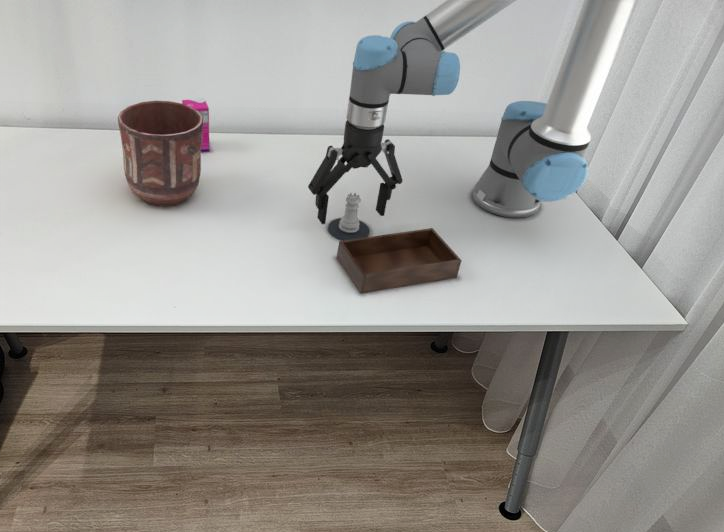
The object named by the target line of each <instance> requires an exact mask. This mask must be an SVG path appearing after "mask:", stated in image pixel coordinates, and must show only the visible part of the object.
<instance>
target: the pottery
mask: <svg viewBox="0 0 724 532" xmlns="http://www.w3.org/2000/svg"><path fill="white" fill-rule="evenodd" d="M117 125H118V128H119V136H120V140H121V148H122V161H123V170H124V171H123V172H124V176H125V179H126V182H127V186H128V187H129V188H130V190H131V191H132V193H133V194H134V195H136V196H137V197H138V198H140V199H141V200H142V201H144V202H145V203H147V204H149V205H153V206H159V207H162V206H163V207H169V206H176V205H180V204H182V203H183V202H185V201H186V200H188V199H189V198H190V197H191V196H192V195H193V194H194V193H195V192H196V190H197V188H198V186H199V183H200V178H201V171H202V159H201V158H202V154H201V153H202V152H201V136H202V128H203V117H202V116H201V114H200V112H198V111H197V110H195V109H194V108H192V107H190V106H187V105H184V104H182V102H181V103H180V102H177V101H176V102H175V101H170V100H149V101H141V102H138V103H135V104H131V105H129V106H127V107H125V108H124V109H122V110H121V111H119V114H118V116H117Z"/></svg>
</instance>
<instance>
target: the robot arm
mask: <svg viewBox="0 0 724 532" xmlns="http://www.w3.org/2000/svg"><path fill="white" fill-rule="evenodd" d="M516 1H517V0H445V1H444V2H442V3H441V4H440V5H438V6H437V7H436V8H434V9H432V10H431V11H429V13H427V14H425V15H424V16H423V17H421V18H420V19H418V20H417V21H405V22H401V23H400V24H398V25H397V26H396V27H395V28H394V29H393V31H392V32H391V34H390V37H388V36H382V35H378V34H377V35H366V36H364V37H362V38H360V39H359V40H358V42H357V44H356V47H355V48H356V49H355V53H354V59H353V61H352V71H351V82H350V88H349V96H348V104H347V110H346V117H345V118H346V121H345V124H344V132H343V143H342V146H341V147H334V145H329V146H328V147H327V149H326V153H325V157H324V159H323V160H322V161H321V163H320V165H319V167H318V168H317V170H316V172H315V174H314V175H313V177H312V178H311V181H310V182H309V184H308V186H307V188H308V189H309V191H310V192H311V194H312V195H313V196H315V203H314V205H315V207H316V209H317V217H316V218H317V219H318V221H319V222H320V224H321V225H326V222H327V215H328V205H329V199H330V198H329V195H328V192H329V191H331V189H333V187H334V186H335V185H336V184H337V182H339V180H341V178H342V177H343V176H344V175H345V174H346V173H349V172H350V170H351V169H353V170H355V169H359V168H364V169H365V168H368V167H369V166H370V165H371V166H372V167H373V168H374V170H375V171H376V172H377V174H378V175H379V177H380V178H381V179H382V180H383V182H380V183H379V187H378V188H379V189H378V194H377V200H376V206H375V211H376V212H377V213H378V215H379V216H380V217H385V213H386V208H387V204H388V203H387V202H388V201H390V200H391V198H392V192H393V190H395V189H396V188H397V185H402V183H403V182H404V181H403V177H402V173H401V171H400V167H399V164H398V161H397V158H396V154H395V153H396V152H395V151H396V146H395V144H394V143H393V142H392V141H391V140H390V139H389V138H387V139H385V140H384V142H383V136H384V132H385V131H384V130H385V123H386V117H387V113H388V106H389V103H390V96H391V95H416V96H418V95H419V96H432V97H435V96H449V95H451V94H452V93H454V91H456V88H457V87H458V84H459V80H460V73H461V62H460V57H459V55H457V53H455V52H449V51H445V50H446V49H447V48H448V47H450V46H452V45H454V43H456V42H457V41H459V40H460V39H462V38H463V37H466V35H468V34H469V33H471V32H472V31H473V30H475V29H477V28H478V27H480V26H481V25H482V24H485V22H487V21H488V20H489V19H491V18H492V17H495V15H497V14H499V13H500V12H501V11H503V10H504V9H506V8H507V7H509V6H510V5H512V4H513V3H515V2H516ZM638 1H639V0H583V2H582V5H581V8H580V10H579V13H578V17H577V19H576V22H575V25H574V28H573V30H572V33H571V35H570V39H569V41H568V44H567V47H566V50H565V53H564V54H563V55H564V56H563V58H562V60H561V64H560V67H559V69H558V72H557V75H556V78H555V80H554V84H553V86H552V89H551V91H550V94H549V97H548V100H547V102H540V101H533V100H519V101H514V102H510V103H509V104H508V105H506V107H505V109H504V112H503V115H502V117H501V121H500V123H499V124H500V125H499V128H498V130H497V131H498V132H497V135H496V139H495V143H494V145H493V150H492V154H491V157H490V161H489V164H488V165H487V167H486V169H485V171H484V172H483V173H482V175H481V176H480V178H479V179H478V181H477V182H476V183H475V185H474V188H473V191H472V200H473V202H474V203H475V204H476V205H477V206H478V207H480V209H483V210H484V211H486V212H488V213H490V214H493V215H496V216H500V217H505V218H510V219H511V218H513V219H521V218H527V217H531V216H533V215H535V214H536V213H537V212H538V211H539V209H540V206H541V203H542V202H556V201H557V202H558V201H561V200H563V199H566V198H567V197H568V196H571V195H573V194H574V193H576V192H577V191H579V189H580V188H581V187H582V186H583V185H584V183H585V181H586V180H587V177H588V172H589V167H588V163H587V161H586V158H584V157H585V154H586V152H587V149H588V147H589V145H590V142H591V140H592V135H591V132H590V130H589V128H588V125H589V123H590V121H591V118H592V115H593V113H594V111H595V108H596V106H597V103H598V101H599V98H600V95H601V93H602V91H603V88H604V86H605V83H606V81H607V78H608V76H609V73H610V70H611V69H612V66H613V63H614V61H615V59H616V56H617V54H618V51H619V48H620V46H621V44H622V41H623V39H624V36H625V34H626V31H627V29H628V27H629V24H630V22H631V19H632V16H633V14H634V12H635V9H636V7H637V5H638ZM381 152H382V153H383V154H384V156H385V159H386V162H387V165H388V168H389V171H390V174H391V176H389V175H388V173H387V171H386V170H385V168H383V166H382V165H381V163H380V162H379V160H378V159H377V157H378V156H379V155H380V154H381ZM340 156H341V157H340ZM339 157H340V158H339ZM336 162H337V163H336ZM335 164H336V165H335Z"/></svg>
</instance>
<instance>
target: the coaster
mask: <svg viewBox="0 0 724 532" xmlns="http://www.w3.org/2000/svg"><path fill="white" fill-rule="evenodd" d="M341 218H342V217H338V218H335V219H333V220H331V221H330V222H329V223H328V225H327V231H328V233H329V234H330V236H332V237H333V238H335V239H337V240H339V241H344V240H351V239H358V238H365V237H369V236H370V231H371V230H370V227H369V226H368V224H366V223H365V222H363V221H362V220H360V219H358V220H359V224H360V225H359V230H358V231H357V232H355V233H345V232H343V231H341V230H340V228H339V224H340V220H341Z"/></svg>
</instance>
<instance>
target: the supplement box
mask: <svg viewBox="0 0 724 532" xmlns="http://www.w3.org/2000/svg"><path fill="white" fill-rule="evenodd" d="M181 104H184V105H187V106H190V107H192V108H194V109H195V110H197V111H198V112H200V114H201V116H202V117H203V128H202V136H201V153H203V152H204V153H205V152H210V108H209V105H208V103H207V101H206V99H205V97H201V98H189V99H187V98H186V99H182V100H181Z"/></svg>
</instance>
